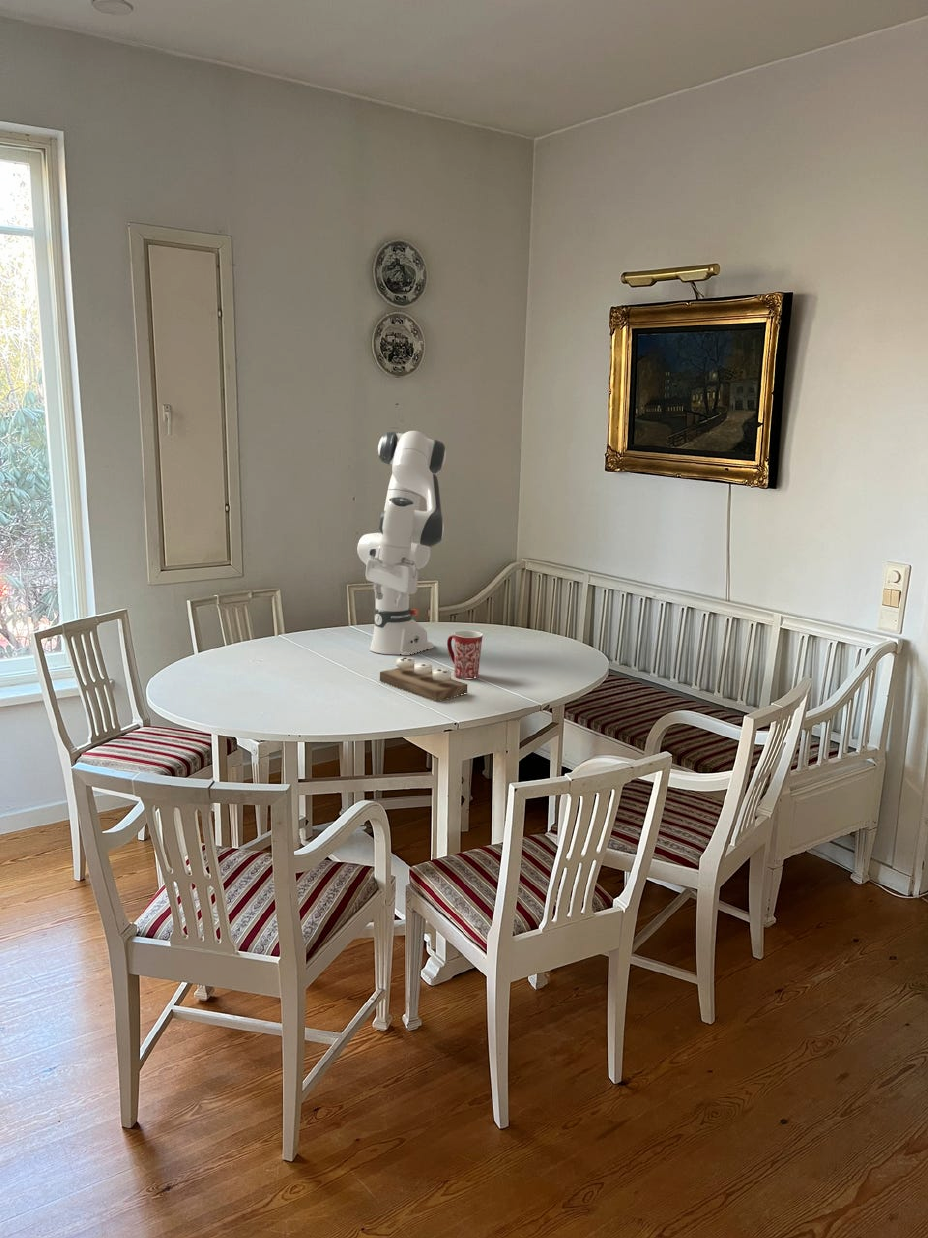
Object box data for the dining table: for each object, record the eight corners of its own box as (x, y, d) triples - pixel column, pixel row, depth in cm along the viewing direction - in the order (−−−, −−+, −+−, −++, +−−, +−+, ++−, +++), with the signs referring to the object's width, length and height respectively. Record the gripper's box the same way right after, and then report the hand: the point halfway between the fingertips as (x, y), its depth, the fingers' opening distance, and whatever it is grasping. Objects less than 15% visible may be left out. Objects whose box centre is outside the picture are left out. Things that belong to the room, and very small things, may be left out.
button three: (406, 662, 283) (406, 655, 283) (417, 666, 280) (417, 659, 279) (392, 665, 280) (393, 658, 279) (404, 669, 276) (404, 662, 276)
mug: (487, 677, 289) (489, 634, 286) (466, 682, 283) (468, 638, 280) (458, 668, 298) (460, 626, 295) (437, 673, 292) (439, 630, 289)
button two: (442, 674, 272) (442, 667, 272) (454, 678, 269) (454, 671, 268) (428, 677, 269) (429, 670, 268) (441, 681, 265) (441, 674, 265)
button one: (423, 668, 278) (424, 661, 277) (435, 672, 274) (436, 665, 274) (410, 671, 274) (410, 664, 274) (422, 675, 271) (422, 668, 270)
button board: (410, 675, 288) (410, 665, 288) (467, 694, 271) (467, 684, 270) (379, 681, 280) (379, 671, 279) (436, 701, 262) (436, 691, 262)
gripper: (426, 562, 263) (419, 610, 266) (382, 549, 278) (376, 595, 280) (408, 561, 259) (401, 611, 261) (364, 548, 273) (358, 595, 276)
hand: (388, 602), depth 271 cm, fingers open, 8 cm apart
